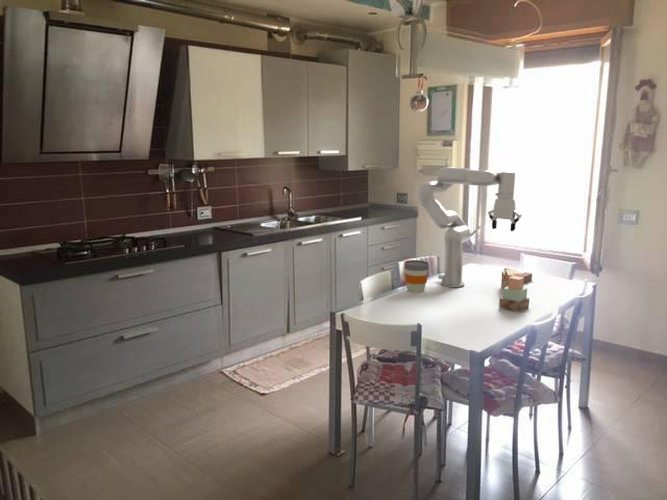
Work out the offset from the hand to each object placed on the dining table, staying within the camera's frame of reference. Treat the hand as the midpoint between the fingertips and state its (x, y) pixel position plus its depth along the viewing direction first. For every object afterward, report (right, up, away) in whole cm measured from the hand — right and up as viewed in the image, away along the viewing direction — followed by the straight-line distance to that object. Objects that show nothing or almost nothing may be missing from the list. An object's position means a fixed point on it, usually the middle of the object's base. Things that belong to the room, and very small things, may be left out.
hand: (503, 229), depth 277 cm
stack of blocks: (+6, -33, +7) cm, 34 cm away
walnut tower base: (0, -38, -18) cm, 42 cm away
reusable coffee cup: (-43, -32, +10) cm, 54 cm away
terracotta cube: (0, -28, -20) cm, 34 cm away
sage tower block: (0, -33, -19) cm, 38 cm away
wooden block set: (+15, -28, +32) cm, 45 cm away
